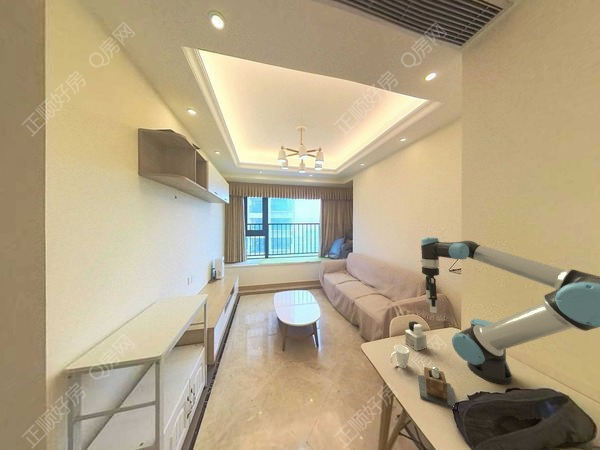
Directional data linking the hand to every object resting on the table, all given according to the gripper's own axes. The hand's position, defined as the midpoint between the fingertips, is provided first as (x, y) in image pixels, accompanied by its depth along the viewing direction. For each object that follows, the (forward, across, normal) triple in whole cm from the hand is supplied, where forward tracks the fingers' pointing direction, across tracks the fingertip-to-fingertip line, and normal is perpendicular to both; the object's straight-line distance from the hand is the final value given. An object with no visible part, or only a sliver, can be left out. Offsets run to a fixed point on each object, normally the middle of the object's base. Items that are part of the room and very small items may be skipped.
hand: (431, 307), depth 101 cm
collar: (+26, +24, -2) cm, 35 cm away
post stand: (+27, +24, -2) cm, 36 cm away
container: (+27, -8, -7) cm, 29 cm away
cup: (+27, +13, -16) cm, 34 cm away
